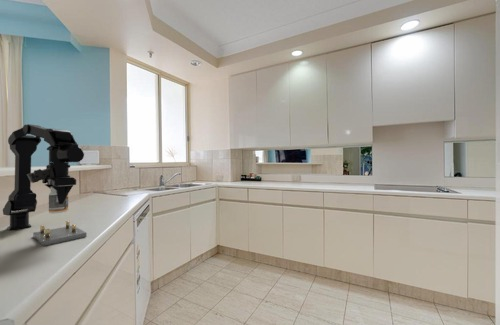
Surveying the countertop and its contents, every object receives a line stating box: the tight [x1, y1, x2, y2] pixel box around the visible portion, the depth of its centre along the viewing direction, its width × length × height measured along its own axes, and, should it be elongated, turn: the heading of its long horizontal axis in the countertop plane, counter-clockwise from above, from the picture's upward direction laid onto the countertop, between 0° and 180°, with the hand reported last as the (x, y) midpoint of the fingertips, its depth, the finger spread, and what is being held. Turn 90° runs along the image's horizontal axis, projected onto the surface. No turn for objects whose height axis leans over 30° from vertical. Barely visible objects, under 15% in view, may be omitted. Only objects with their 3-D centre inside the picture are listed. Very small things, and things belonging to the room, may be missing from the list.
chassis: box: [32, 220, 87, 247], centre depth 83 cm, size 16×12×4 cm
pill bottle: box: [48, 187, 69, 214], centre depth 84 cm, size 6×6×10 cm
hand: (58, 203), depth 84 cm, fingers closed on pill bottle, 6 cm apart
